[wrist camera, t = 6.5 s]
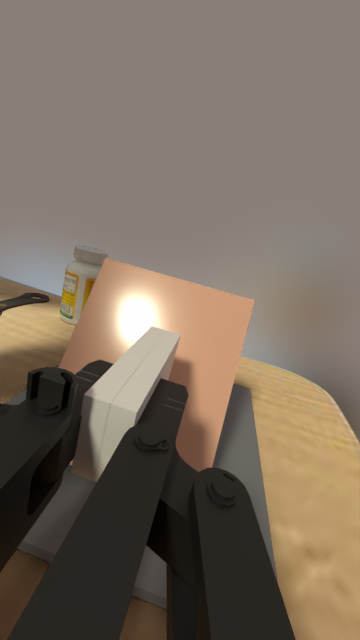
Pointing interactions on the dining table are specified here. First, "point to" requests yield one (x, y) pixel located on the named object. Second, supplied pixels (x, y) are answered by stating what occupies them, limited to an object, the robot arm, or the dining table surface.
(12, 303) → the throwing knife
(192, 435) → the terracotta tile
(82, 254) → the supplement bottle
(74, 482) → the rubber mat
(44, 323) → the dining table surface
